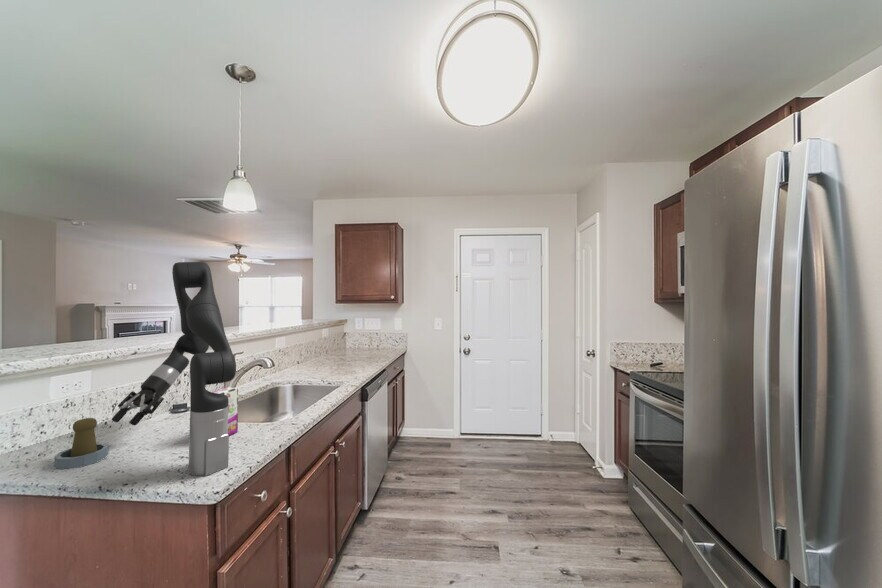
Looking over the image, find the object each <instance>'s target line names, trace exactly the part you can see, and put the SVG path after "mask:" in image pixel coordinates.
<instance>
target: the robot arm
mask: <svg viewBox="0 0 882 588" xmlns="http://www.w3.org/2000/svg"><path fill="white" fill-rule="evenodd" d="M171 269H172V271H171V272H172V273H171V274H172V281H173V287H174V292H175V293H174V294H175V297H176V301H177V305H178V310H179V316H180V329H181V333H182V335H181V336H179V338H178V339H177V341H176V342H175V344H174V347H173V348H172V350H171V352H170V354H169V355H168V356H167V358H166V359H165V360H164V361H163V362H162V363H161V364H160V365H159V366H158V367H157V368H156V369H154V370H153V372H152V373H150V375H149V376H148V377H147V378H146V379H144V381H143V383H141V385H140V390H139V391H138V392H137V393H136V392H135V391H134V390H133V391H132V390H131V391H130V392H129V394H127V396H125V398H124V399H122V401H120V402H119V404H118V405H117V407H118V408H119V410H118V411H117V412H116V413H115V414H114V415H113V417H112V418H111V421H113V422H114V423H119V422H120V421H121V420H122V419H123V418H124V417H125V416H126V414H127V413H128V412H130V411H131V410H133V409H137V408H139V411H137V413H136V414H135V415H134V416H133V417H132V418H131V419H130V420H129V424H130V425H132V426H137V425H138V424H139V423H140V421H141V420H142V419H143V418H144V417H145V416H147V415H153V414H154V412H155V411H157V409H158V407H160V405H161V403H163V401H164V399H165V398H164V397H163V396H164V395H165V394H166V393H167V391H168V390H169V389H170V388H171V387H172V385H174V383H175V382H176V381H177V379H178V378H179V377H180V375H181V374H182V373H183V372H184V371H185V370H186V368H187V367H188V366H189V380H190V382H189V383H190V384H189V385H190V395H189V396H190V397H189V398H190V400H189V401H190V404H189V406H190V410H189V441H188V474H189V475H192V476H205V477H207V476H209V475H211V474H214V473H216V472H218V471H222V470H223V469H226V468H228V467H229V447H230V446H229V445H230V444H229V443H230V436H229V434H228V401H229V400H228V396H226V395H224V394H218V393H212V392H213V391H209V390H208V389H206V386H210V385H216V384H217V385H218V384H223V383H224V384H225V383H228V382H231V381H232V380H233V379H235V377H236V374H237V373H236V372H237V365H236V361H235V356H234V354H233V351H232V348H231V346H230V344H229V340H228V338H227V335H226V332H225V328H224V324H223V318H222V315H221V312H220V311H221V309H220V308H219V307H220V306H219V304H218V302H217V301H218V300H217V298H216V295H215V290H214V289H215V288H214V282H213V277H212V271H211V268H210V265H209V264H208V262H204V261H181V262H175V263H174V264H173V265H172V268H171ZM194 288H195V289H196V288H199V289H200V290H199V291H198V292H197V294H195V295H194V296H193V298H191V297H190V295H189V294H188V293H187V291H186V289H194ZM209 347H210V348H211V349H212V351H211V352H207V351H209ZM185 353H187V354H191V355H193V356H192V357H190V358H191V359H190V360H189V358H188V357H186V356H185V355H184V354H185Z"/></svg>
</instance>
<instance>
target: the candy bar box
mask: <svg viewBox="0 0 882 588" xmlns="http://www.w3.org/2000/svg"><path fill="white" fill-rule="evenodd" d="M211 392H212V393H218V394H224V395H226V396H228V400H229V401H228V434H229V437H230V436H233V435H234V434H236V433H237V432H238V428H239V427H238V426H239V425H238V424H239V423H238V422H239V420H238V418H239V411H238V410H239V388H238V387H229V386H227V387H224V388H220V389H218V390H215V391H211Z"/></svg>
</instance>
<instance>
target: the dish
mask: <svg viewBox="0 0 882 588" xmlns="http://www.w3.org/2000/svg"><path fill="white" fill-rule="evenodd" d="M96 444H97V450H98V451H96V452H94V453H90V454H87V455H83V456H77V457H70V455H71V450H72V447H69V448H67V449H65V450H62V451H60V452H58V453H56V455H54V458H53V460H54V462H53V467H54V468H55V467H56V469H57V470H70V469H69V468H71V469H75V468H74V467H76V468H81V467H80V466H82V467H85V465H86V466H89V465H92V464H96V463H98V462H100V461H102V460H104V459H106V458H107V457H108V456H109V454H110V453H109V450H110V449H109V444H107V443H105V442H104V443H103V442H100V443H99V442H96ZM107 455H108V456H107ZM106 456H107V457H106ZM105 457H106V458H105ZM103 458H104V459H103ZM101 459H102V460H101ZM99 460H100V461H99ZM97 461H98V462H97ZM95 462H96V463H95ZM88 464H89V465H88Z"/></svg>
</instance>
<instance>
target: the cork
mask: <svg viewBox="0 0 882 588" xmlns="http://www.w3.org/2000/svg"><path fill="white" fill-rule="evenodd" d="M97 425H98V422H97V419H96V418H94V417H85V418H81V419H78V420H76V421H75V422H74V423H73V424H72V431H74V437H73V440H72V446H71V448H72V450H71V455H70V457H77V456H83V455H87V454H90V453H94V452H96V451H98V450H97V444H96V443H97V437H96V432H95V431H96V430H95V428H96V427H97Z"/></svg>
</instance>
